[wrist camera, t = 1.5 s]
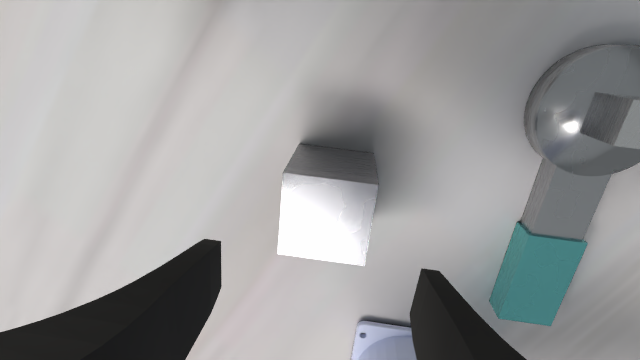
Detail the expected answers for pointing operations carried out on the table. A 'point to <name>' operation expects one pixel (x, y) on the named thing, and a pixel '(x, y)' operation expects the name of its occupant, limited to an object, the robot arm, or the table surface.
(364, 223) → the socket
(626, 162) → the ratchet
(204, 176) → the table surface
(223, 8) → the table surface
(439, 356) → the robot arm
